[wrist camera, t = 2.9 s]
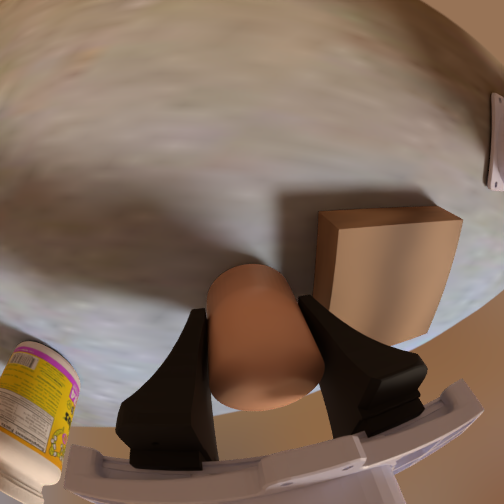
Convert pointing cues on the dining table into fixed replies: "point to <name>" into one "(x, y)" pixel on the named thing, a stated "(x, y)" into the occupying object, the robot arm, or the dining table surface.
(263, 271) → the tan rounded cylinder
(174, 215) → the dining table surface
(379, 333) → the walnut board
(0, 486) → the supplement bottle
